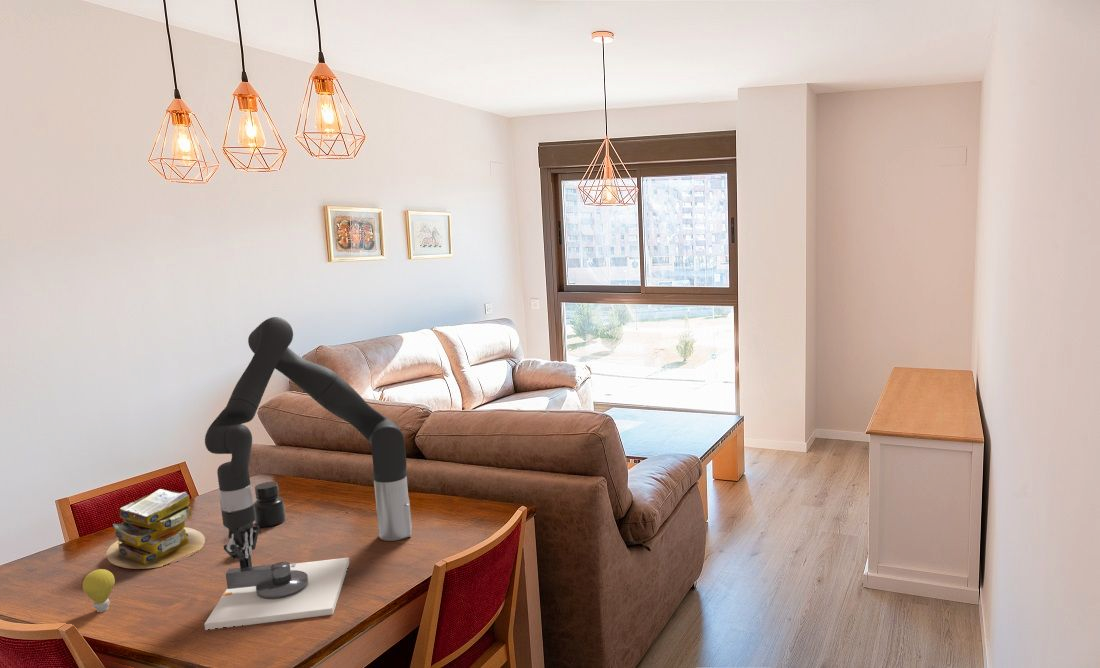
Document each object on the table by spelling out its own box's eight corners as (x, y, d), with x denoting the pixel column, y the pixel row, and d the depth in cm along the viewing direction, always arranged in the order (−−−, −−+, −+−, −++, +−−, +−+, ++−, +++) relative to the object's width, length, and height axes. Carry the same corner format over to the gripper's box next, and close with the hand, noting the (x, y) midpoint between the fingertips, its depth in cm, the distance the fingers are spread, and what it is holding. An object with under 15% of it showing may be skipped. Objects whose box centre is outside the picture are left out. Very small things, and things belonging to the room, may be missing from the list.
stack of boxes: (222, 544, 216) (215, 489, 214) (134, 579, 196) (126, 518, 194) (177, 529, 230) (170, 478, 228) (91, 560, 210) (83, 504, 208)
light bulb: (95, 604, 182) (89, 565, 181) (123, 601, 183) (118, 563, 182) (80, 617, 176) (74, 578, 174) (110, 615, 176) (104, 575, 175)
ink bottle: (279, 514, 237) (275, 478, 236) (291, 520, 231) (287, 483, 230) (249, 523, 231) (244, 486, 229) (261, 530, 224) (256, 492, 223)
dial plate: (349, 562, 197) (348, 556, 197) (333, 614, 170) (332, 607, 169) (239, 575, 194) (239, 569, 193) (205, 630, 166) (204, 623, 166)
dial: (312, 573, 188) (310, 553, 187) (302, 595, 176) (299, 573, 175) (237, 581, 186) (235, 560, 185) (221, 604, 174) (218, 582, 174)
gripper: (237, 494, 188) (246, 559, 190) (207, 515, 175) (217, 584, 177) (265, 494, 187) (274, 559, 189) (237, 514, 174) (246, 583, 176)
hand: (246, 571), depth 183 cm, fingers closed
